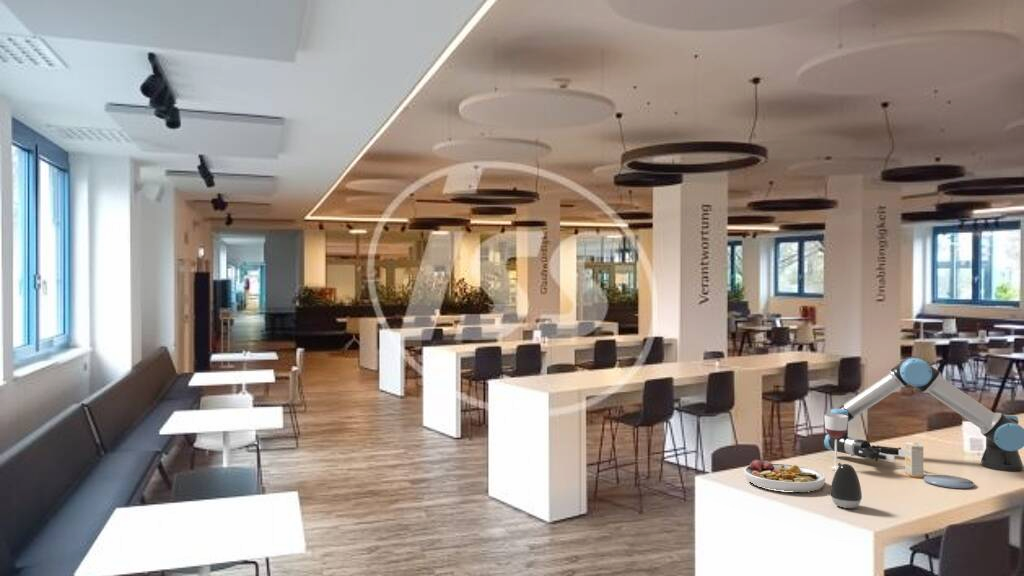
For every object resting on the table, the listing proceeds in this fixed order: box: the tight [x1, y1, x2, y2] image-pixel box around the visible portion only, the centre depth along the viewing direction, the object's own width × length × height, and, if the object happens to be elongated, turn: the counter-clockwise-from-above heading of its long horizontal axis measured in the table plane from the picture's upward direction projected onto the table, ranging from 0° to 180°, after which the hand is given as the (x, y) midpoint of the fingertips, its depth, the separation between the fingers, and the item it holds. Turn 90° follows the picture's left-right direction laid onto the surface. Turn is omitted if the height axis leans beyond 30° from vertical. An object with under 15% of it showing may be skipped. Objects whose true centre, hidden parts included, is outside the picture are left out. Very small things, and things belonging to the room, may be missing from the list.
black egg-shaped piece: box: [829, 462, 863, 509], centre depth 257 cm, size 10×10×15 cm
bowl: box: [743, 459, 826, 493], centre depth 287 cm, size 30×30×8 cm
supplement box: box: [904, 441, 924, 479], centre depth 301 cm, size 8×5×13 cm, turn 168°
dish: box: [923, 474, 975, 489], centre depth 289 cm, size 17×17×1 cm
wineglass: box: [823, 413, 849, 469], centre depth 312 cm, size 9×10×23 cm
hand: (904, 457), depth 304 cm, fingers open, 13 cm apart
